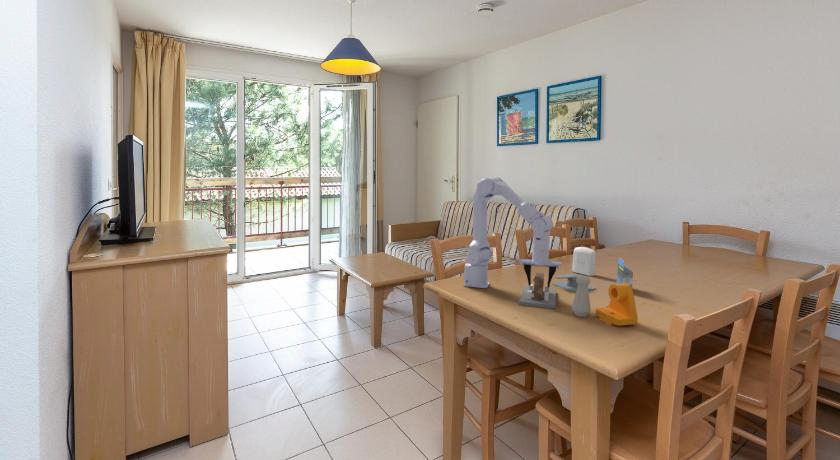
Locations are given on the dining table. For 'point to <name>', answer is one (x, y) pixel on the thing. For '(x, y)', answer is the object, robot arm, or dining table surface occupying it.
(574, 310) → the salt shaker
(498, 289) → the dining table surface
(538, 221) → the robot arm
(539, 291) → the cabinet door
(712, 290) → the dining table surface
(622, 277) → the label tape box
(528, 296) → the hinge board
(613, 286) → the bracket
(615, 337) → the dining table surface
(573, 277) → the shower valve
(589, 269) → the photo printer
